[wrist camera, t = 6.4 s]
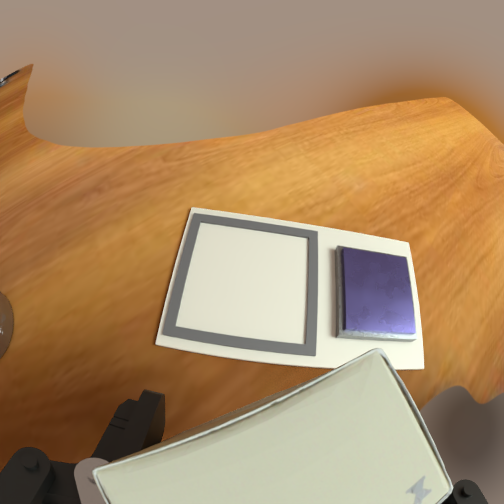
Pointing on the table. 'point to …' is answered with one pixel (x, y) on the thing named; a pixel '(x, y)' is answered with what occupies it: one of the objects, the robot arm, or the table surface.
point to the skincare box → (296, 449)
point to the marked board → (269, 293)
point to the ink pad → (373, 296)
